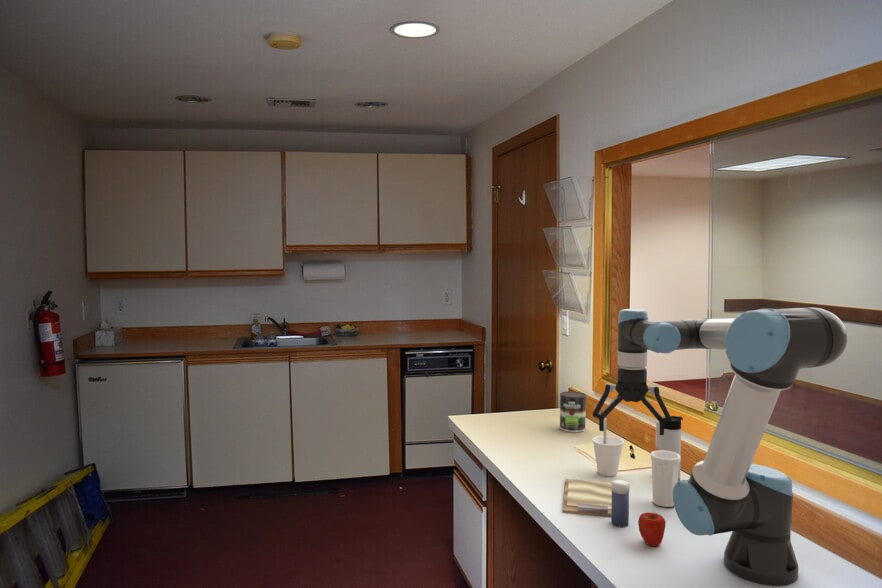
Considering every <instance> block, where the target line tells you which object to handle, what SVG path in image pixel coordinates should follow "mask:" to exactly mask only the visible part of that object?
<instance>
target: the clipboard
mask: <svg viewBox="0 0 882 588" xmlns="http://www.w3.org/2000/svg"><path fill="white" fill-rule="evenodd" d="M564 481H565V482H564V492H563V503H562V504H563V505H562V513H567V514H578V515H579V514H580V515H588V516H589V515H591V516H601V517H602V516H603V517H611V508H612V491H611V482H612V481H603V480H588V479H577V478H576V479H574V478H565V480H564Z"/></svg>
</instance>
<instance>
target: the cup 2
mask: <svg viewBox="0 0 882 588" xmlns="http://www.w3.org/2000/svg"><path fill="white" fill-rule="evenodd" d="M650 460H651V479H652V481H651V483H652V485H651V486H652V502H653V503H654V504H655V505H656V506H660V507H667V508H670V507H674V503H673V488H674V486H675V484H676V483H677V482H679V481H678V471H679V462H680V455H679V454H677V453H675V452H671V451H665V450H660V449H658V450H653V451H651V452H650Z"/></svg>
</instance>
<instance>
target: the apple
mask: <svg viewBox="0 0 882 588" xmlns="http://www.w3.org/2000/svg"><path fill="white" fill-rule="evenodd" d="M637 522H638V524H637V525H638V530H639V534H640V536H641V538H642V540H643V542H644V543H646V544H647V545H649V546H652V547H658V546H660V545H661V544H662V542H663V539H664V536H665V530H666V523H667V521H666V519H665V517H663V516H662V515H660V514H659V513H657V512H656V513H655V512H651V511H650V512H644V513H643V512H642V513H641V514H640V515H639V518H638V521H637Z"/></svg>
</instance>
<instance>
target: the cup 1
mask: <svg viewBox="0 0 882 588" xmlns="http://www.w3.org/2000/svg"><path fill="white" fill-rule="evenodd" d="M591 441H592V442H593V449H594V455H595V461H596V469H597V470H596V471H597V473H598V474H599V475H600V476H604V477H615V476H616V475H618V472H619V465H620V461H621V457H622V456H621V455H622V451H623V446H624V444H625V441H624V440H623V439H622V438H621V437H618V436H613V435H606V444H603V435H597V436H595V437H593V438H592V439H591Z"/></svg>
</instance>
